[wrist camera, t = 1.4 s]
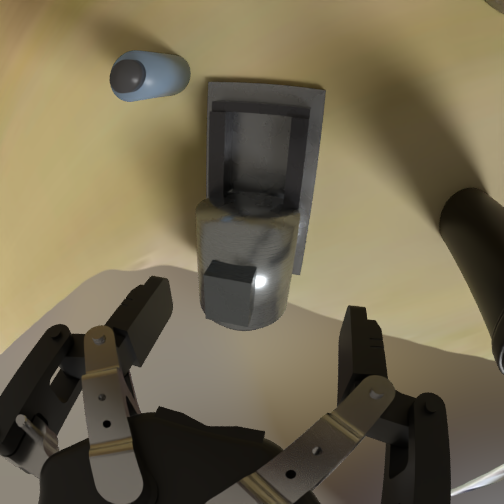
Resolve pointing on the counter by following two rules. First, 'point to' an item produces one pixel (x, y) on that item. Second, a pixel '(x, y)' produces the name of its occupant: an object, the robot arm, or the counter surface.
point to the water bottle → (479, 255)
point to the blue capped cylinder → (148, 75)
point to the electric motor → (255, 198)
